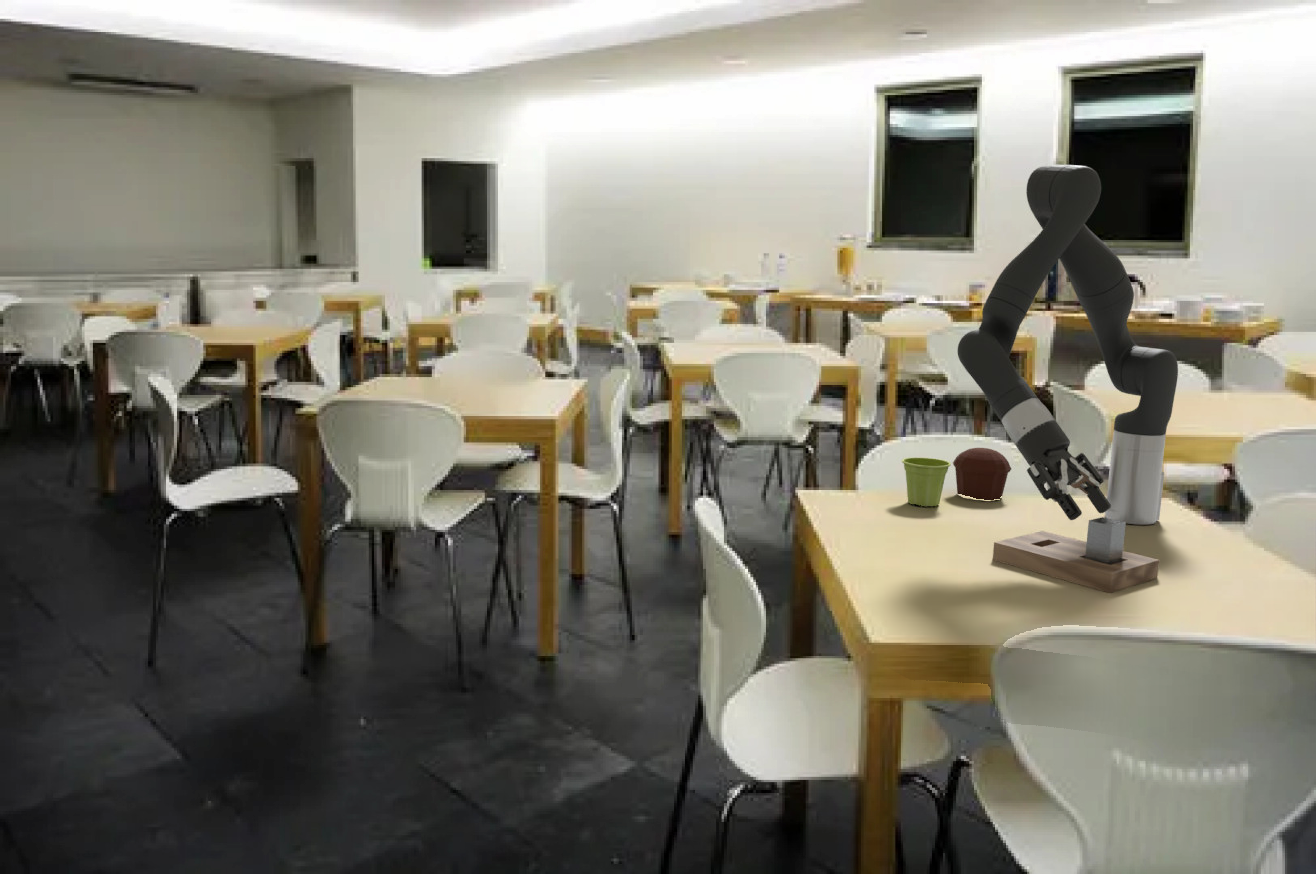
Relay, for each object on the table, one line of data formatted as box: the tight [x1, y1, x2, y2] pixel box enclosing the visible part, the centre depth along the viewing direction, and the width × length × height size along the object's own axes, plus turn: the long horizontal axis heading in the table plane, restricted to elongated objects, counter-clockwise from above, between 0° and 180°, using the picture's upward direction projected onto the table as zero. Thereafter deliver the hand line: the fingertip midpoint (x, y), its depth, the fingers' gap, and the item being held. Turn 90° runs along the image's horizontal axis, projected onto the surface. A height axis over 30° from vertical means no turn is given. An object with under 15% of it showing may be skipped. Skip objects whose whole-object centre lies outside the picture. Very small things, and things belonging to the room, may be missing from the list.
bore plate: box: [992, 530, 1160, 594], centre depth 186 cm, size 14×21×3 cm, turn 39°
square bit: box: [1085, 516, 1127, 565], centre depth 181 cm, size 4×4×9 cm
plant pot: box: [901, 457, 952, 507], centre depth 228 cm, size 9×9×9 cm
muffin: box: [952, 447, 1012, 500], centre depth 236 cm, size 12×11×10 cm
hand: (1091, 513), depth 183 cm, fingers open, 8 cm apart
